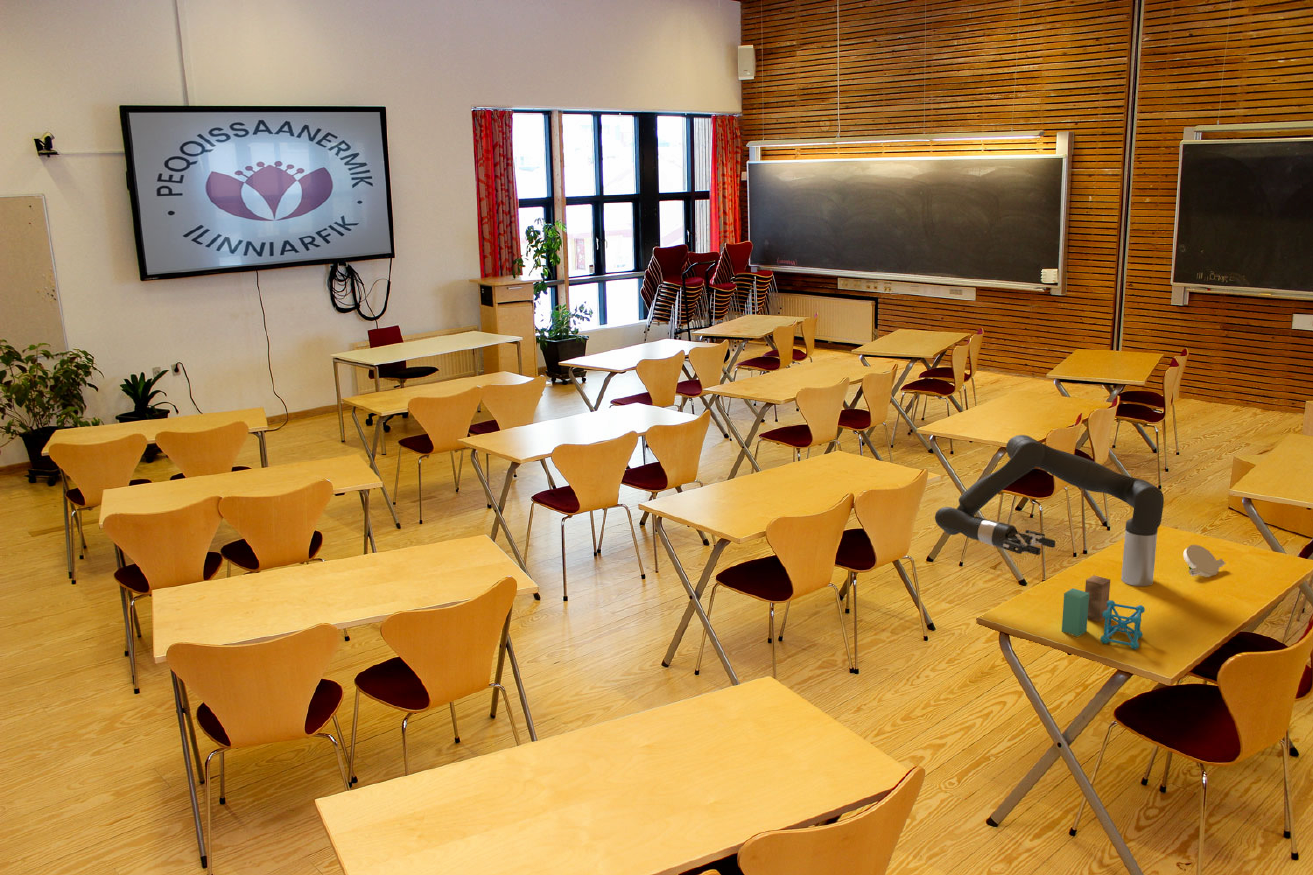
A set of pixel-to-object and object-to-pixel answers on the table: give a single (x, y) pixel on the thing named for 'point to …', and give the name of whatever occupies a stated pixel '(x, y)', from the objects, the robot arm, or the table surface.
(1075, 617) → the teal pillar
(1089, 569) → the table surface
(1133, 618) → the molecular structure
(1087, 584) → the walnut pillar
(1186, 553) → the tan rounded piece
